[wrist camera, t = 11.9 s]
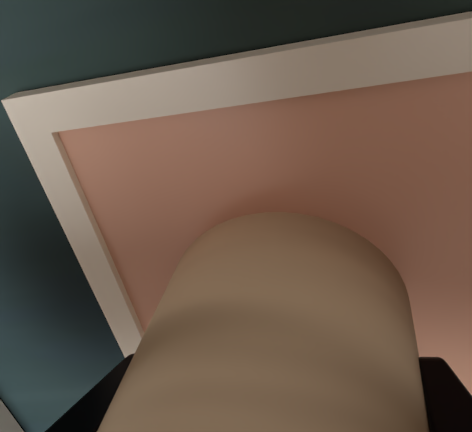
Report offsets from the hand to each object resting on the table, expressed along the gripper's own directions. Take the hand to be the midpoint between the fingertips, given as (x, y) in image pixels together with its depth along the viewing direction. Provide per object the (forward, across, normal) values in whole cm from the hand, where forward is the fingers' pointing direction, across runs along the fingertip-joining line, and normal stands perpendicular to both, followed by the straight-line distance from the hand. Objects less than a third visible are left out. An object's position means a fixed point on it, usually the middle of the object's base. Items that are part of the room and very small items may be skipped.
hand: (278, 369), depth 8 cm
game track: (+3, 0, +9) cm, 10 cm away
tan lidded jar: (+2, 0, 0) cm, 2 cm away
